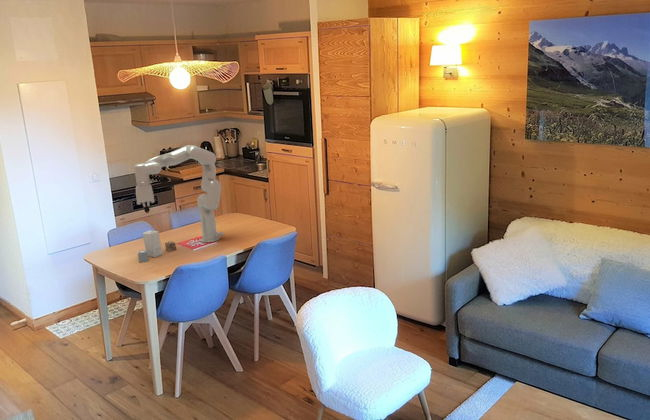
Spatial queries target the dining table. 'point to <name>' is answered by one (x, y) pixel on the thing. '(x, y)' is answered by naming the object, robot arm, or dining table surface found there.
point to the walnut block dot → (170, 246)
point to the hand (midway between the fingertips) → (147, 212)
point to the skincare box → (152, 243)
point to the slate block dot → (143, 256)
